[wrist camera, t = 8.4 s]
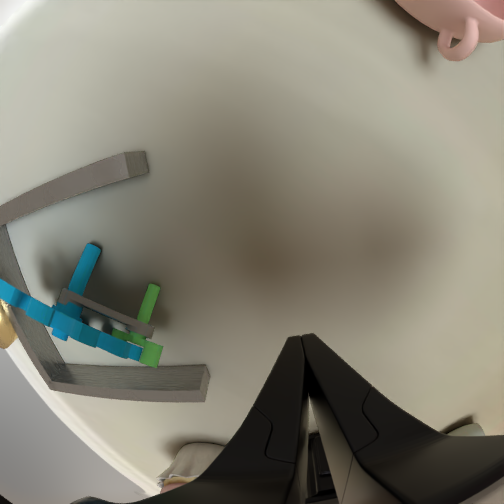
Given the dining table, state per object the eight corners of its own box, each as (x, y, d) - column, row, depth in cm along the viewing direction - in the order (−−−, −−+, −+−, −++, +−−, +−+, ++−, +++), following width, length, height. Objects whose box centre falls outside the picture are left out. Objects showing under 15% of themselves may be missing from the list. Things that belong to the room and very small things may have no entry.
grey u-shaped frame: (209, 376, 19) (198, 431, 14) (27, 367, 21) (4, 396, 16) (144, 151, 14) (95, 155, 9) (-33, 229, 16) (-69, 247, 11)
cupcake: (155, 426, 22) (129, 514, 13) (255, 436, 22) (252, 533, 12) (174, 467, 25) (158, 535, 16) (254, 474, 25) (251, 547, 16)
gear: (24, 312, 16) (-43, 284, 7) (51, 244, 19) (8, 178, 10) (150, 369, 19) (159, 389, 10) (173, 297, 21) (199, 260, 13)
